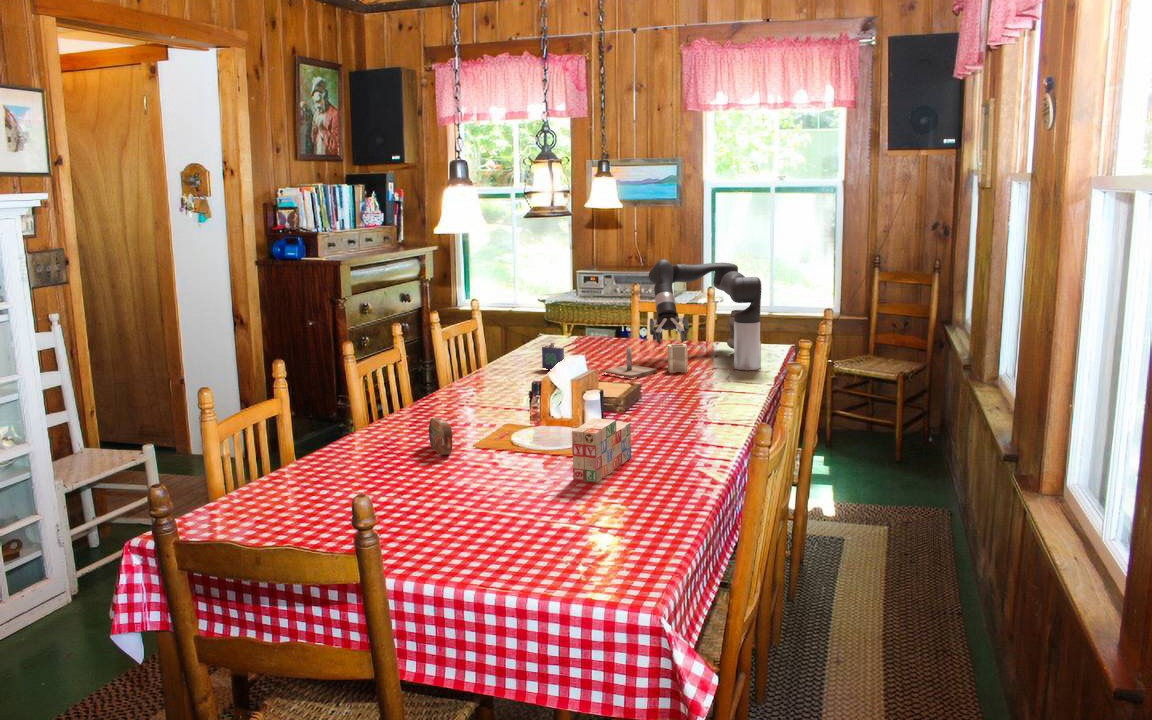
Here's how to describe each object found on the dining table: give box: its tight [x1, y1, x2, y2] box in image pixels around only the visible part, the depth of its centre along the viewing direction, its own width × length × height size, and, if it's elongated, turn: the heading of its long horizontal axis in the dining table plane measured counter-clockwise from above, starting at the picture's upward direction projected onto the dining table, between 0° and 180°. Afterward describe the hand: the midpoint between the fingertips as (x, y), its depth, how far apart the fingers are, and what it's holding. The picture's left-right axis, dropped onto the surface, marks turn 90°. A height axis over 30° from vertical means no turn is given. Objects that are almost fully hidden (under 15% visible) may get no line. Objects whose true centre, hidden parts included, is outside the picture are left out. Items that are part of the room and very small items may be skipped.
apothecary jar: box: [726, 309, 744, 358], centre depth 362 cm, size 12×12×18 cm
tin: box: [428, 417, 453, 456], centre depth 247 cm, size 15×3×8 cm, turn 23°
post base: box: [601, 347, 658, 378], centre depth 336 cm, size 14×14×10 cm
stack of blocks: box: [571, 417, 632, 483], centre depth 228 cm, size 21×6×12 cm, turn 154°
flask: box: [541, 341, 565, 370], centre depth 346 cm, size 9×3×11 cm, turn 61°
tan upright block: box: [667, 343, 689, 374], centre depth 339 cm, size 5×6×10 cm
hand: (671, 342), depth 344 cm, fingers open, 8 cm apart
